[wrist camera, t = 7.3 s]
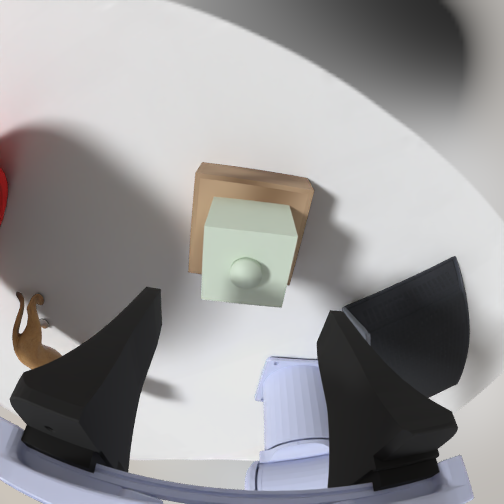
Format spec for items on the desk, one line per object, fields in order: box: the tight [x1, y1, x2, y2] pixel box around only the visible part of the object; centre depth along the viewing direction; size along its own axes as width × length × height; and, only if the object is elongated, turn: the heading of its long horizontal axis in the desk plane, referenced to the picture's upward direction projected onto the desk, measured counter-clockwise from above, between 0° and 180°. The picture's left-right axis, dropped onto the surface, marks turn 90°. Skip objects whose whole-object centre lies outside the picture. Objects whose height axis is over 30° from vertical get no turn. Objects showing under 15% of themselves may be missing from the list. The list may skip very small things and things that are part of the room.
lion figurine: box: [12, 291, 62, 369], centre depth 24 cm, size 15×5×9 cm, turn 38°
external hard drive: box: [342, 256, 470, 398], centre depth 27 cm, size 13×19×4 cm
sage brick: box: [201, 197, 298, 308], centre depth 17 cm, size 4×4×4 cm
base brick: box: [188, 162, 314, 285], centre depth 20 cm, size 7×7×2 cm
